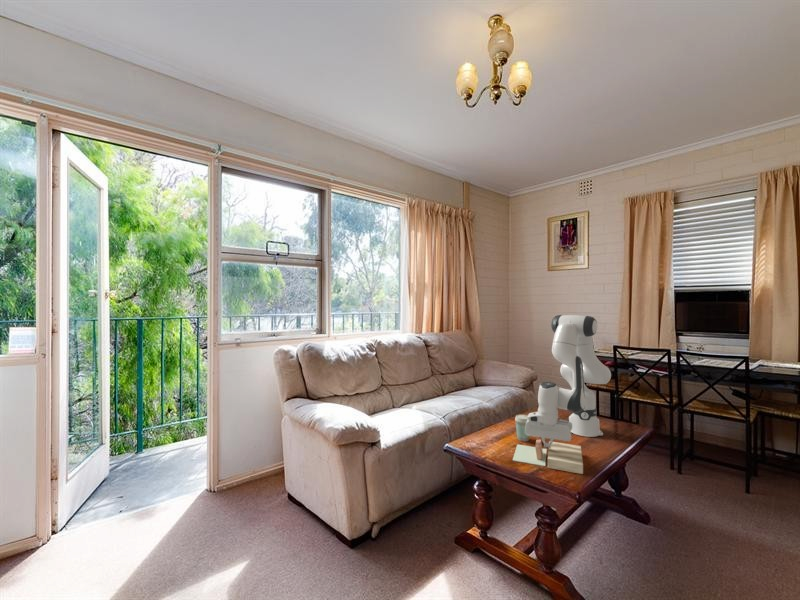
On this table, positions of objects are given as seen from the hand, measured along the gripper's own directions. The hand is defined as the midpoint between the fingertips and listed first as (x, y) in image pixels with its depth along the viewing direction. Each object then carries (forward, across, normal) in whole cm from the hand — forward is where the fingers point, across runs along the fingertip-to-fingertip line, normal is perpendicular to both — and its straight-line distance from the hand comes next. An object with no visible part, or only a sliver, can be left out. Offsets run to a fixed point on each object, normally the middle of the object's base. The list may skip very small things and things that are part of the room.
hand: (547, 447), depth 173 cm
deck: (+5, -8, 0) cm, 9 cm away
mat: (+5, +8, 0) cm, 9 cm away
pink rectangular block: (+1, +3, 0) cm, 3 cm away
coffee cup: (+5, +12, -19) cm, 23 cm away
